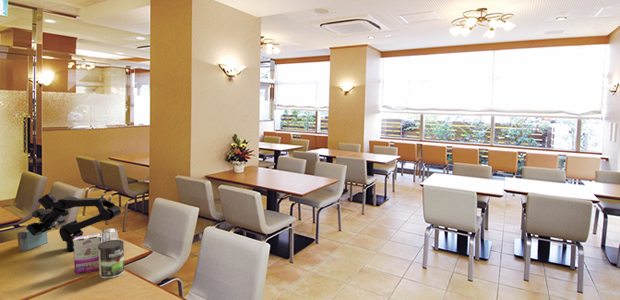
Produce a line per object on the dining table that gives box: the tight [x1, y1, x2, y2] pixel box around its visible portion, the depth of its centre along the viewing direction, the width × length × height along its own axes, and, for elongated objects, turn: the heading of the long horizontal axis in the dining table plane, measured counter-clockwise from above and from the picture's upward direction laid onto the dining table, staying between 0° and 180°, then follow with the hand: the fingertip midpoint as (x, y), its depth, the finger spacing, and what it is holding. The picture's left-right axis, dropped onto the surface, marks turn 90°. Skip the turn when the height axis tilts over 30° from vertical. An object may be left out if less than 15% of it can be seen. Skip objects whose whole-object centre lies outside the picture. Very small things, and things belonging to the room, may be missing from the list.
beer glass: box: [101, 227, 119, 242], centre depth 175 cm, size 7×7×15 cm
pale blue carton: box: [16, 228, 28, 252], centre depth 188 cm, size 4×14×10 cm, turn 174°
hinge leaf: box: [20, 231, 48, 253], centre depth 187 cm, size 2×13×10 cm, turn 166°
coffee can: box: [98, 239, 126, 279], centre depth 161 cm, size 10×10×14 cm
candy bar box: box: [72, 232, 102, 275], centre depth 163 cm, size 11×5×16 cm, turn 117°
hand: (37, 234), depth 188 cm, fingers closed
